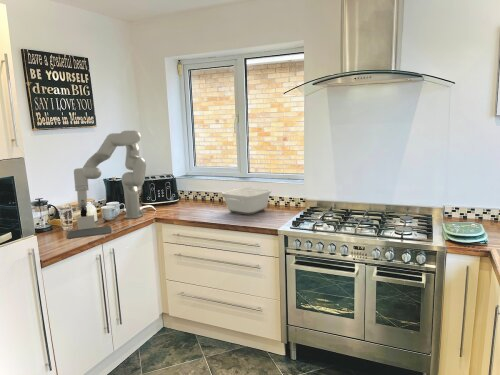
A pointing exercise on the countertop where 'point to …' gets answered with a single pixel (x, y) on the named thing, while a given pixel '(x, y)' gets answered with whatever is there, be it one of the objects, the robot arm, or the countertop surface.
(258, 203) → the white plastic tub
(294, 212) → the countertop surface
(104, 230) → the mat
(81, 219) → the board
